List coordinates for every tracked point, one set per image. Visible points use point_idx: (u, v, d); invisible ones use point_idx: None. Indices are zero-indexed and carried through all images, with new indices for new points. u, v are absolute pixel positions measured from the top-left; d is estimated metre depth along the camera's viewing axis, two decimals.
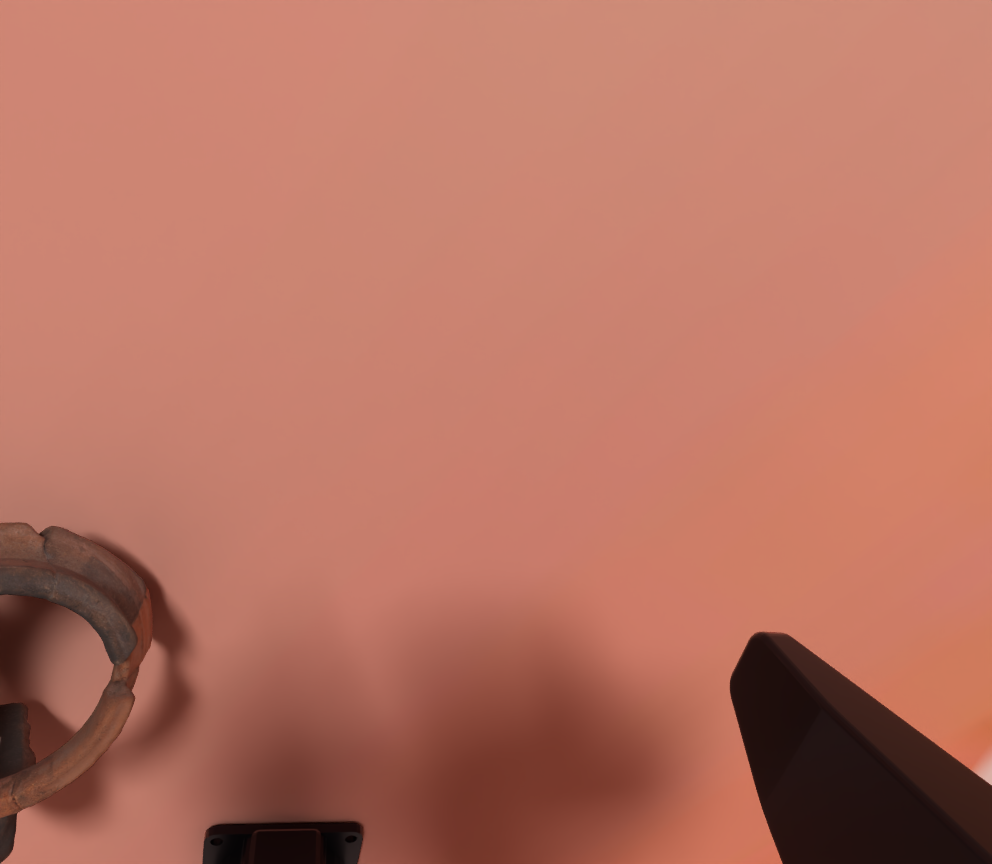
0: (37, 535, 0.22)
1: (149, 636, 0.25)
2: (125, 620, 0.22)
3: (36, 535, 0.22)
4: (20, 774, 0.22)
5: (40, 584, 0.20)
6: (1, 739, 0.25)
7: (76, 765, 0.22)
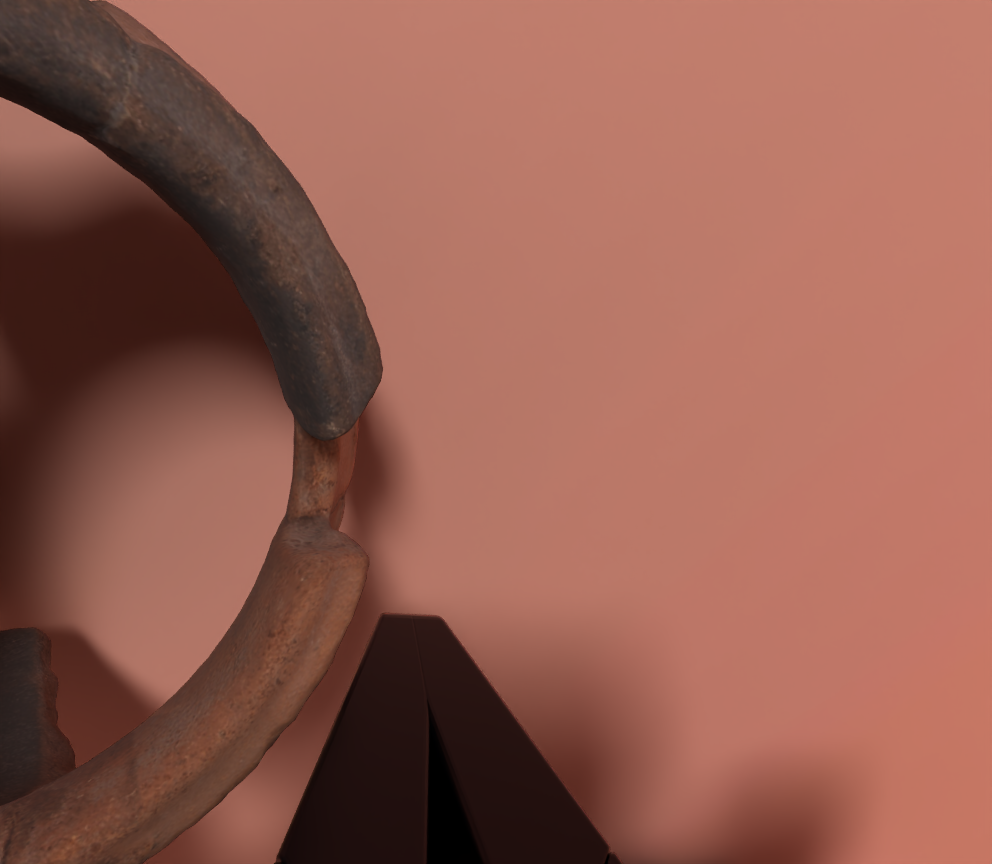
0: None
1: (356, 427, 0.10)
2: (353, 285, 0.07)
3: None
4: (30, 803, 0.06)
5: (75, 45, 0.05)
6: None
7: (212, 767, 0.07)
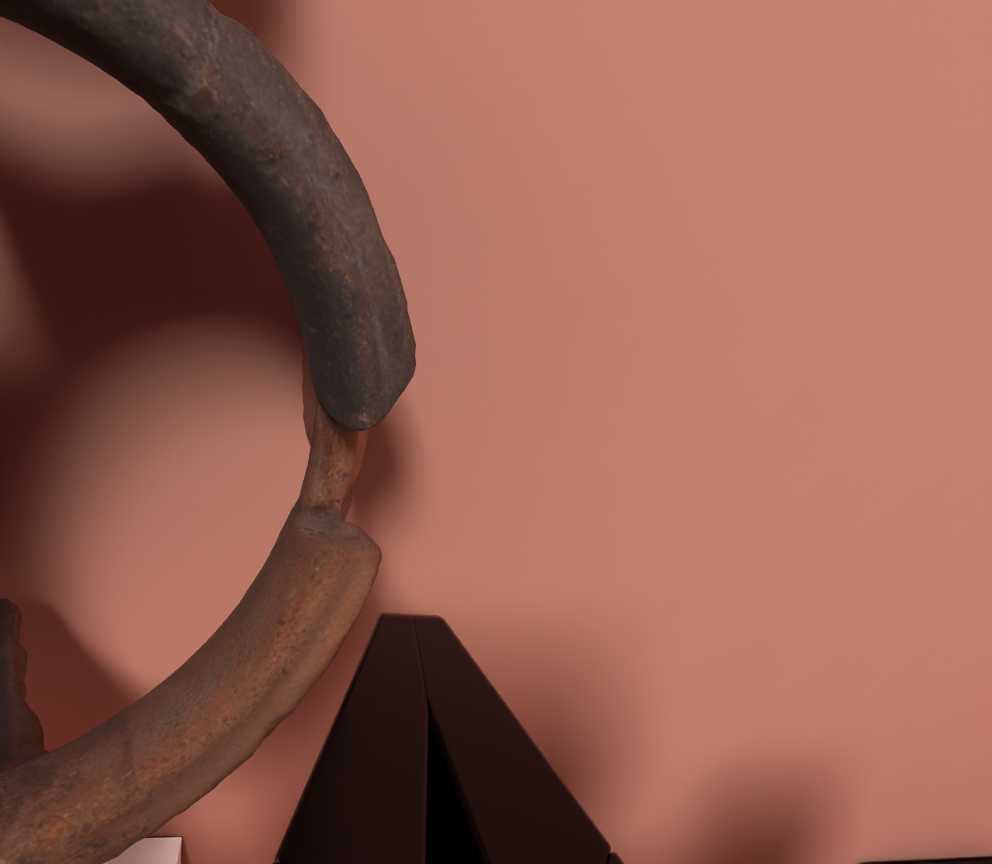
0: None
1: None
2: (397, 278, 0.07)
3: None
4: (18, 777, 0.06)
5: (162, 9, 0.05)
6: None
7: (209, 753, 0.07)
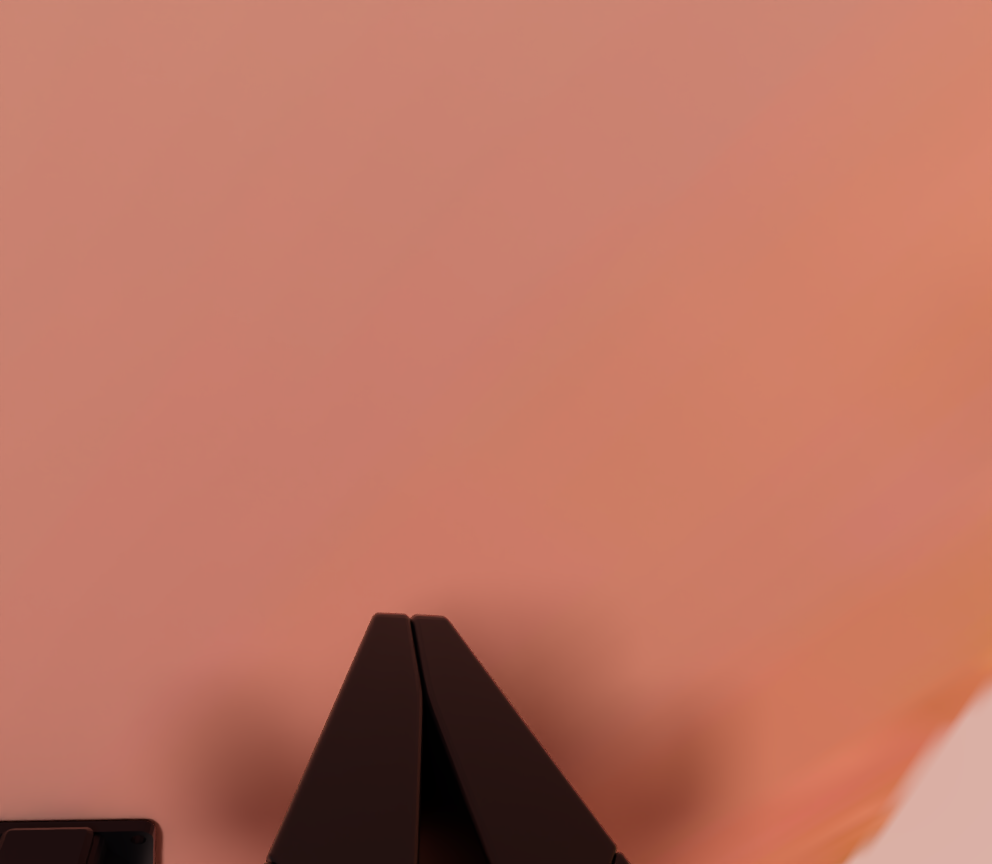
0: None
1: None
2: None
3: None
4: None
5: None
6: None
7: None
